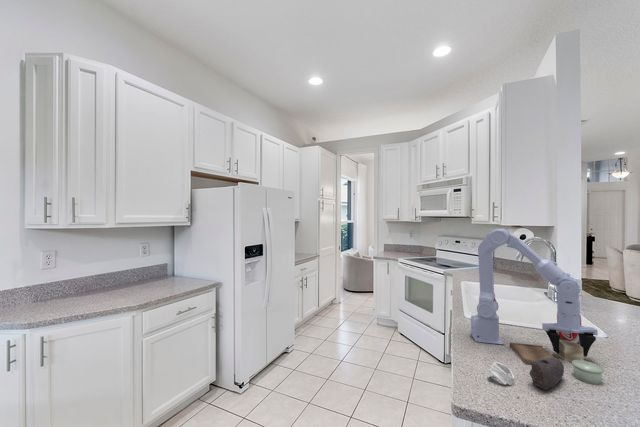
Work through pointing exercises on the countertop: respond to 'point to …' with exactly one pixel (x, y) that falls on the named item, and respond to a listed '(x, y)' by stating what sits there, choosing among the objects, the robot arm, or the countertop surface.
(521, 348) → the walnut board
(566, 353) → the beech block
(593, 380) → the green lidded container
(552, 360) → the perforated stone tool
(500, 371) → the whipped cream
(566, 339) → the soda can
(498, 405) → the countertop surface
